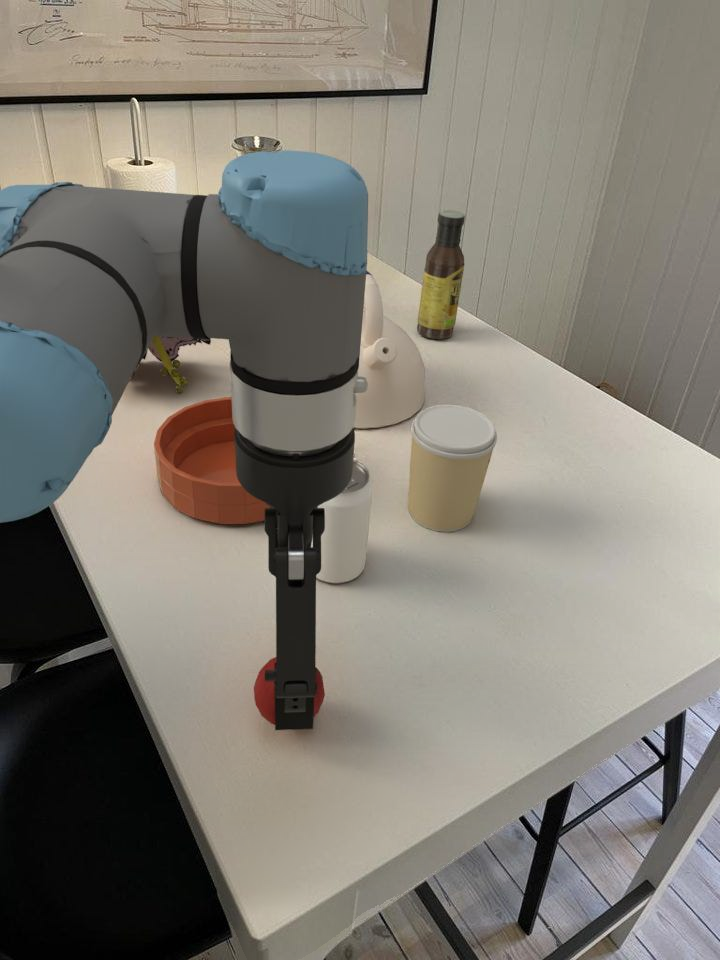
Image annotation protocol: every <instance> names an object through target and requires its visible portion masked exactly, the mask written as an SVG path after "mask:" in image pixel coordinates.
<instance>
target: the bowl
mask: <svg viewBox="0 0 720 960" xmlns="http://www.w3.org/2000/svg"><path fill="white" fill-rule="evenodd" d="M234 431H235V425H234V423H233V418H232V399H231V396H225V397H219V398H211V399H205V400H202V401H199V402H196V403H193V404H190V405H187V406H184V407H183V408H181V409H180V410H177V411H176V412H174V413H173V414H171V415H169V416H168V417H167V418H166V419H165V420H164V421H163V423H161V425H160V426H159V427H158V429H157V430H156V434H155V438H154V443H153V447H154V449H153V450H154V455H155V465H156V474H157V482H158V485H159V489H160V491H161V495H162V496H163V498H164V499H166V500H167V501H168V502H169V503H170V504H171V505H172V506H173V507H174V508H175V510H177V511H179V512H181V513H183V514H185V515H187V516H189V517H191V518H193V519H197V520H201V521H206V522H209V523H210V522H211V523H214V524H221V525H222V524H223V525H227V524H228V525H229V524H230V525H236V524H237V525H239V524H240V525H241V524H242V525H244V524H245V525H247V524H252V523H257V522H262V521H265V508H270V507H269V505H266V503H265V502H263V501H260V500H258V499H257V498H255V497H253V496H252V495H250V494H249V493H248V492H247V491H246V490H245V489H244V488H243V487H242V485H241V484H240V482H239V480H238V478H237V474H236V461H235V440H234Z"/></svg>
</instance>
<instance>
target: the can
mask: <svg viewBox="0 0 720 960" xmlns="http://www.w3.org/2000/svg"><path fill="white" fill-rule="evenodd" d="M372 498H373V486H372V482H371V480H370V472H369V470H368V468H367V467H366V466H365V465H363V464H362V463H361V462H359V461H357V460H355V459H353V472H352V477H351V480H350V482H349V484H348V486H347V487H346V488H345V489H344V490H343V491H342V492H341V493H340V494H339V495H338V496H336V497H335V498H333V499H331V500H329V501H327V502H325V503H323V504H321V505H319V506H318V508H324V509H325V530H324V532H323V534H322V535H321V571H320V572H319V573H318V574H317V575H316V580H319V581H321V582H324V583H327V584H332V585H333V584H336V585H339V584H345V583H348V582H351V581H353V580H354V579H356V578H357V577H359V576H360V575H361V574H362V572H363V571H364V569H365V566H366V559H367V550H368V540H369V533H370V532H369V531H370V523H371V522H370V521H371V510H372V500H373V499H372ZM311 547H313V537H312V543H311Z"/></svg>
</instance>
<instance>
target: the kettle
mask: <svg viewBox="0 0 720 960" xmlns="http://www.w3.org/2000/svg"><path fill="white" fill-rule="evenodd" d="M364 308H365V309H364V310H363V320H362V333H361V345H360V357H359V368H358V377H365V378H366V380H367V382H368V388H367V390H366V392H363V393H355V396H356V415H355V423H354V426H353V428H354V429H358V430H362V429H363V430H364V429H365V430H367V429H380V428H385V427H389V426H394V425H396V424H399V423H401V422H404V421H405V420H408V419H410V418H411V417H412V416H413V415H415V414H416V413H417V412H418V411H420V410H421V408H422V407H423V404H424V403H425V379H426V377H425V375H426V374H425V370H426V367H425V365H424V364H425V363H424V361H423V358H422V355H421V352H420V350H419V348H418V346H417V345H416V343H415V341H414V340H413V339H412V337H411V336H410V335H409V333H408V332H407V331H406V330H404V328H403V327H401V326H400V325H399V324H397V323H396V322H394V321H393V320H392V319H390V318H389V317H387V316H385V315H384V306H383V300H382V294H381V291H380V288H379V285H378V283H377V281H376V279H375V278H374V276H373V274H372V273H370V272H369V271H368V270H367V271H366V283H365V296H364Z"/></svg>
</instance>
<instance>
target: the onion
mask: <svg viewBox="0 0 720 960" xmlns="http://www.w3.org/2000/svg"><path fill="white" fill-rule="evenodd" d="M274 663H276V656H274V657H272V658H270V659H269V660H267V662H266V663H265V664H264V665H263V666H262V667H261V668H260V670H259V671H258V674H257V676H256V679H255V682H254V685H253V694H254V695H253V698H254V704H255V706H256V708H257V710H258V712H259V715H261V717H262V718H264V719H265V720H266V721H267V722H268V723H270V725H272V726H275V692H274V681H265V670H274ZM323 677H324V676H323V675H322V672H321V671H320V669H318V667H316V675H315V681H316V683H317V685H318V690H317V691H316V695H315V697H314V717H316V716H317V714H319V712H320V710H321V707H322V706H323V703H324V700H325V697H326V693H325V692H326V691H325V686H324V679H323Z"/></svg>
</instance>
